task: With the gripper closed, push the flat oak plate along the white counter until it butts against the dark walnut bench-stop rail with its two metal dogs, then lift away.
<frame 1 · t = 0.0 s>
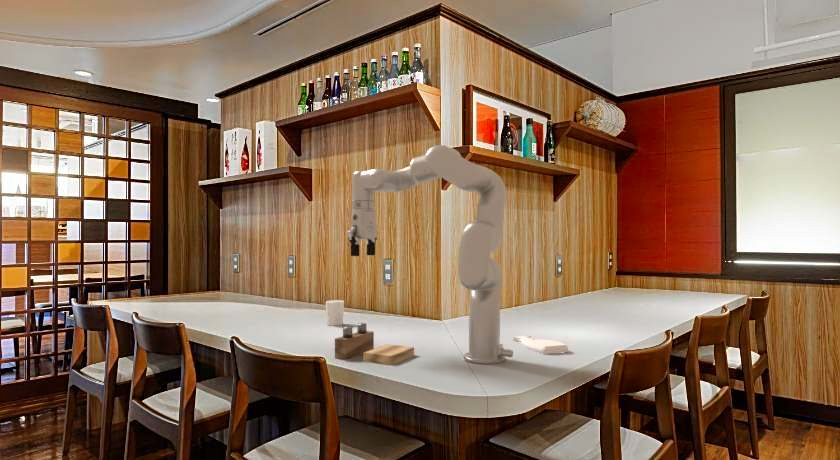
hand: (363, 255, 183), 31 cm above the bar counter, fingers open, 9 cm apart
white cup: (334, 324, 225), on the bar counter
oak plate: (389, 359, 163), on the bar counter
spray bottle: (537, 348, 181), on the bar counter
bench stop: (354, 353, 169), on the bar counter
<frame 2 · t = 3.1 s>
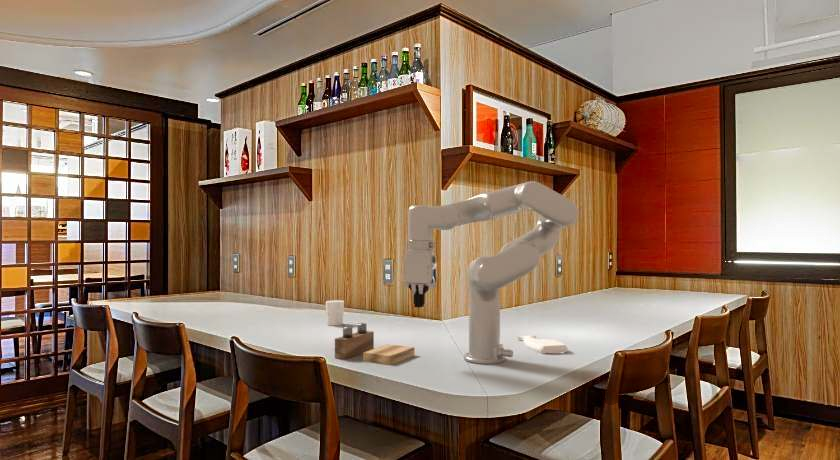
hand: (419, 306, 158), 17 cm above the bar counter, fingers closed
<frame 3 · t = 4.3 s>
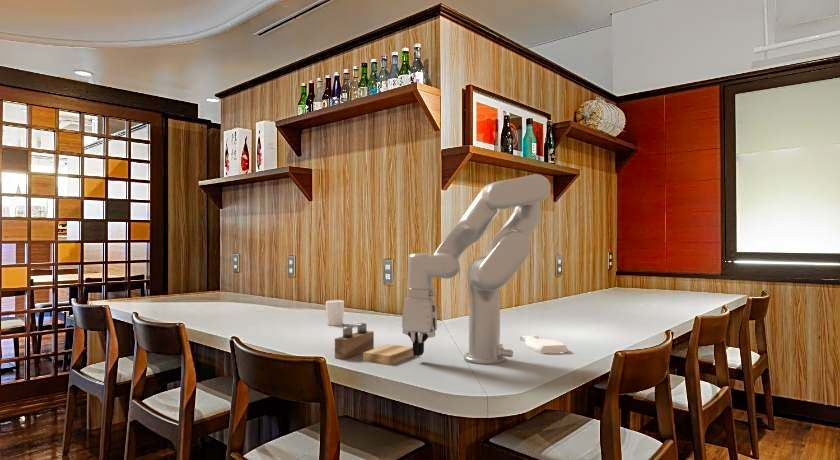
hand: (418, 354, 158), 2 cm above the bar counter, fingers closed
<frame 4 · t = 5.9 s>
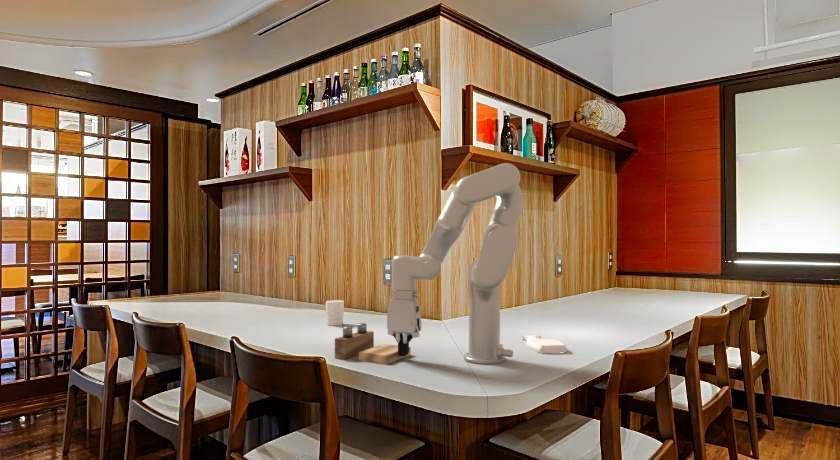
hand: (403, 355, 161), 1 cm above the bar counter, fingers closed
oak plate: (385, 359, 164), on the bar counter
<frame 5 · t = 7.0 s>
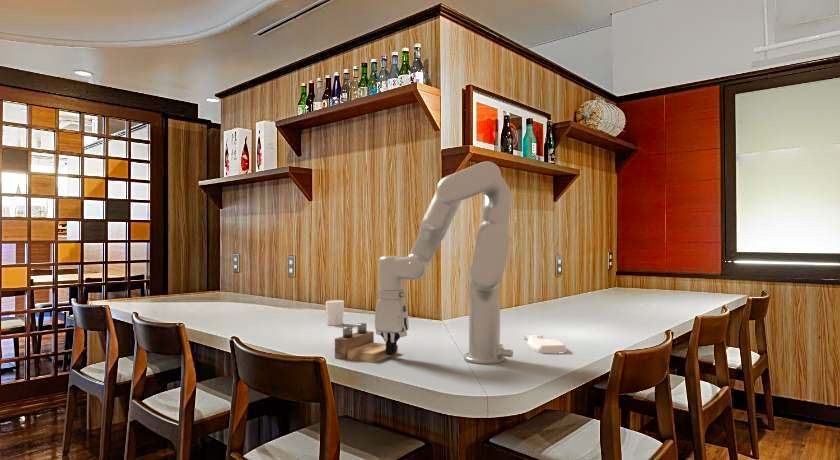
hand: (391, 354, 163), 1 cm above the bar counter, fingers closed
oak plate: (372, 357, 166), on the bar counter, touching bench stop, gripper
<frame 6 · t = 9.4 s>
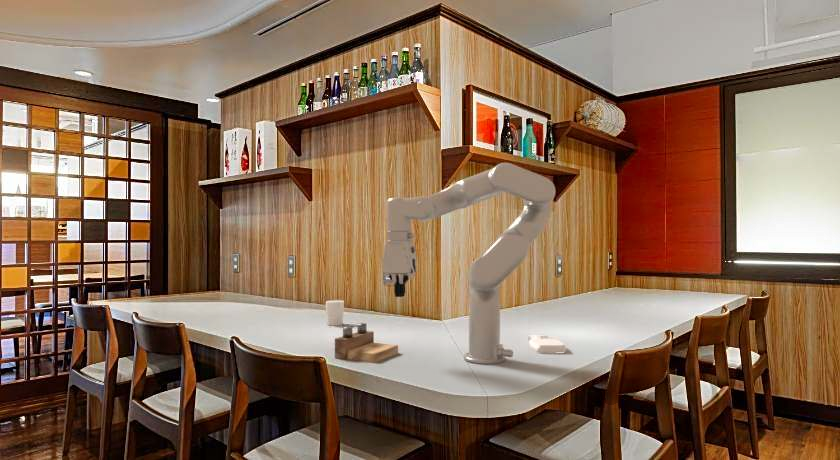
hand: (399, 296, 162), 19 cm above the bar counter, fingers closed
oak plate: (373, 357, 166), on the bar counter
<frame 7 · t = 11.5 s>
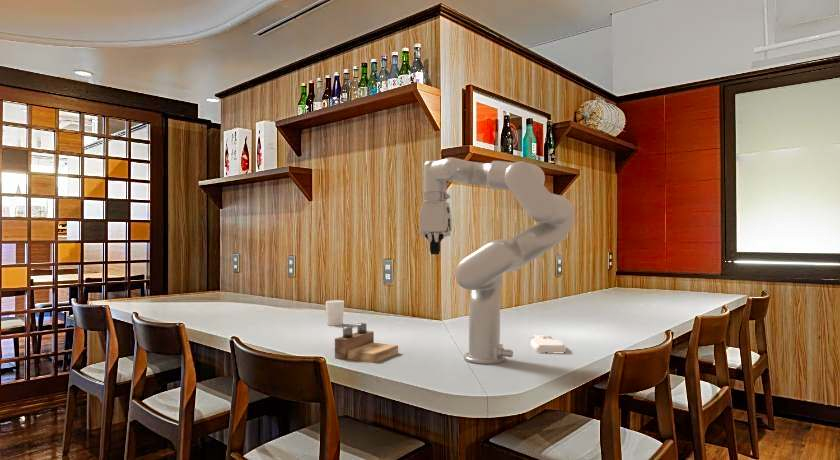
hand: (435, 254, 172), 32 cm above the bar counter, fingers closed
at the end: oak plate 0.4 cm from the target spot, on the bar counter; oak plate tilted 0°; oak plate moved 6.0 cm from its start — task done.
